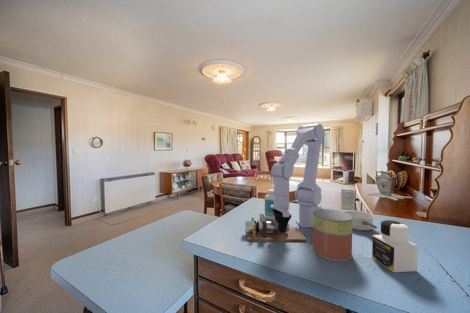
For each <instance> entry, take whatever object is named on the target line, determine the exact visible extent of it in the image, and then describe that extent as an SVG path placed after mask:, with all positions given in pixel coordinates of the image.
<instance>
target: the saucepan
mask: <svg viewBox="0 0 470 313" xmlns="http://www.w3.org/2000/svg"><path fill="white" fill-rule="evenodd" d="M342 212H345V213H348V214H350V215H351V216H352V217H353V219H352V230H356V231H362V230H363V231H364V230H366V231H370V230H372V229H375V230H376V229H378V226H376V225H375V224H374V218H375V215H373V214H372V213H369V212H366V211H361V210H353V209H351V210H350V209H345V210H343V211H342ZM364 232H365V231H364Z"/></svg>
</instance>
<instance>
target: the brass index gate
mask: <svg viewBox="0 0 470 313" xmlns="http://www.w3.org/2000/svg"><path fill="white" fill-rule="evenodd" d="M254 219H255V217H253V216H251V221H255V220H254ZM252 237H257V235H255V224H253V235H252Z"/></svg>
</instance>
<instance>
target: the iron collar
mask: <svg viewBox="0 0 470 313" xmlns="http://www.w3.org/2000/svg"><path fill="white" fill-rule="evenodd" d="M259 221H262V237H267V221H268V220H267V218H265V213H260V214H259Z"/></svg>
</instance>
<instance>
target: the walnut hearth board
mask: <svg viewBox="0 0 470 313" xmlns="http://www.w3.org/2000/svg"><path fill="white" fill-rule="evenodd" d="M252 235H253V232H246V239H247V242H288V243H289V242H292V243H293V242H295V243H296V242H299V243H301V242H302V243H303V242H305V243H307V242H308V240H307V237H306V236H304V234H303V233H302V231H300V229H299V228H298V227H295V226H293V227H292V226H289V231H288V232H285V233H280V232H278V233H274V232H267V237H262V232H255V235H257V237H252Z"/></svg>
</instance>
